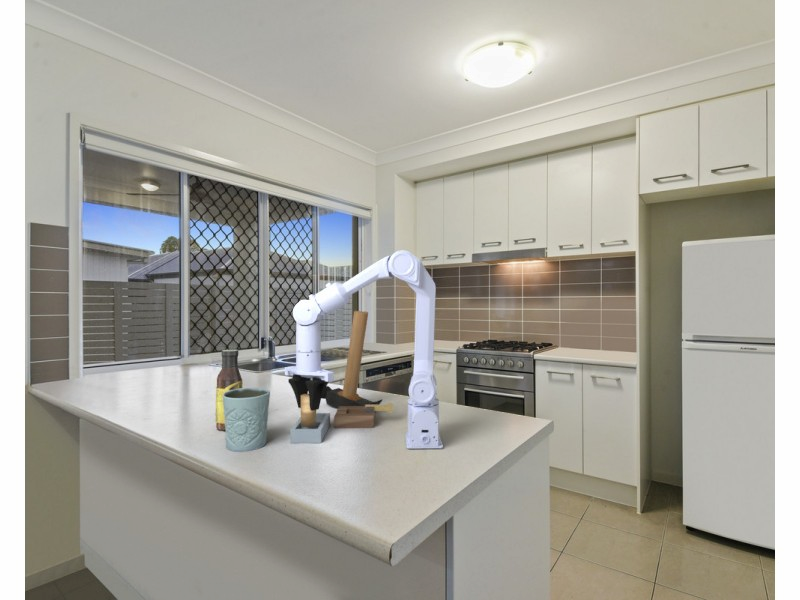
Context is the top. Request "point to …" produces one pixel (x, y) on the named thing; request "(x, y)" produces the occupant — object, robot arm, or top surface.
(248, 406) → the teal embossed cup
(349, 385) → the hammer
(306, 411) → the dowel peg
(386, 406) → the drift key
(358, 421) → the socket block
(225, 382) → the sauce bottle
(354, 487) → the top surface
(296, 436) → the divided storage tray
